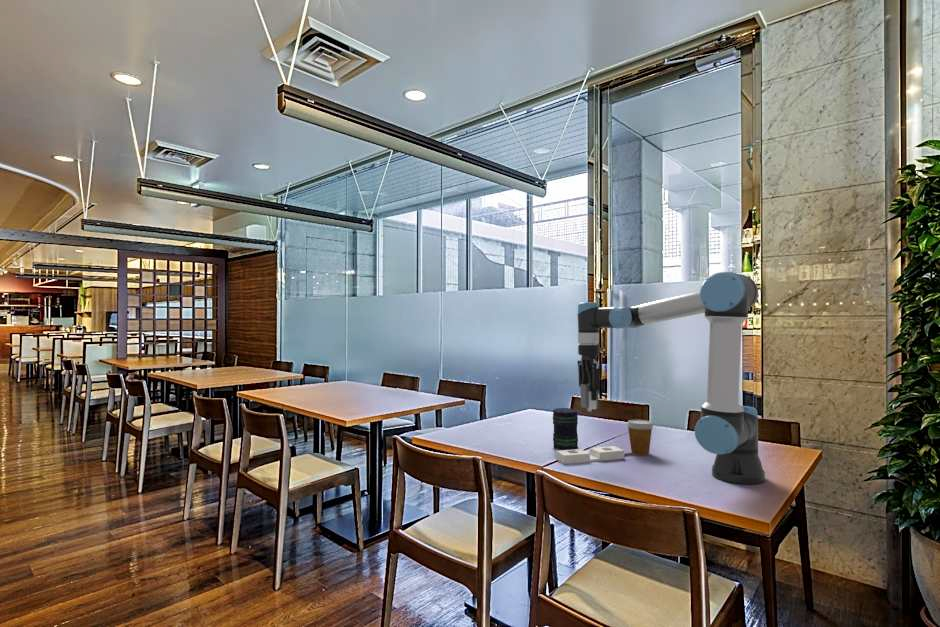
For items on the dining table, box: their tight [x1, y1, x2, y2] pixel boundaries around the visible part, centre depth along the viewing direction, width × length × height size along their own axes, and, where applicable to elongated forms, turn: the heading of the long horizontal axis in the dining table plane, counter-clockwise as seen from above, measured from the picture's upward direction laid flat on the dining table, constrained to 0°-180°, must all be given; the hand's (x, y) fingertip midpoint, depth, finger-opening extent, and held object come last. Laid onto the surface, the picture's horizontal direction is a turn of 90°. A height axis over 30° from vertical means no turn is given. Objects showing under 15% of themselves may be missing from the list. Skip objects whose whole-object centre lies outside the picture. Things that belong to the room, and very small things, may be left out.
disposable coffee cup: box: [626, 419, 654, 456], centre depth 196 cm, size 10×10×12 cm
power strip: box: [555, 445, 635, 465], centre depth 189 cm, size 7×30×3 cm, turn 106°
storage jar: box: [552, 407, 579, 451], centre depth 206 cm, size 10×10×15 cm
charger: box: [579, 383, 599, 413], centre depth 189 cm, size 4×5×10 cm
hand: (589, 407), depth 189 cm, fingers closed on charger, 4 cm apart
